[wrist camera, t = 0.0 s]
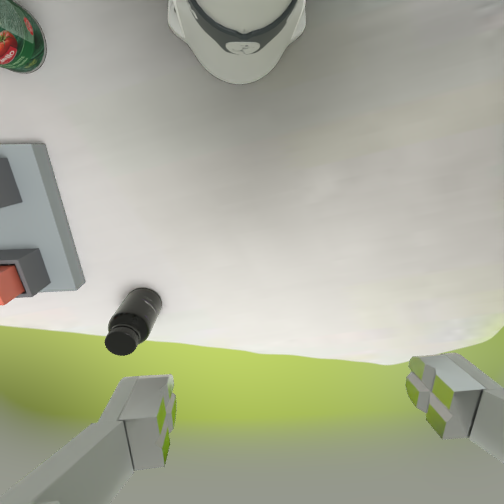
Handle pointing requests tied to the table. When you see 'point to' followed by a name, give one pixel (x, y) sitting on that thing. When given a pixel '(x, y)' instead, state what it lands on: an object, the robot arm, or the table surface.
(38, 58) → the canned tomato
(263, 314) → the table surface
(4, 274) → the red button
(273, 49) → the robot arm
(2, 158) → the button panel
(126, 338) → the supplement bottle
